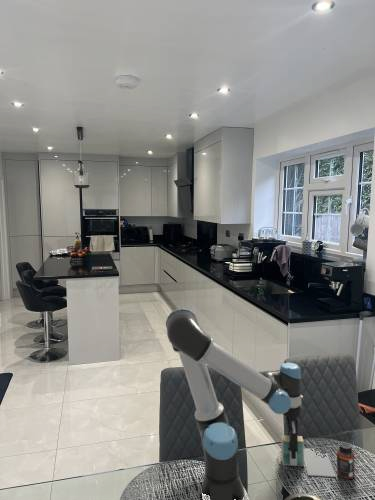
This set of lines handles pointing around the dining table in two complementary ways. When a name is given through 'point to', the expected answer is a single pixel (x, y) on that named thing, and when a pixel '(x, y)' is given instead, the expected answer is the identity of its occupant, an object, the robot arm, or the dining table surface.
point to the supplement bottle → (345, 461)
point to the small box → (286, 454)
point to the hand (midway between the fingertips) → (292, 461)
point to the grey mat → (317, 464)
